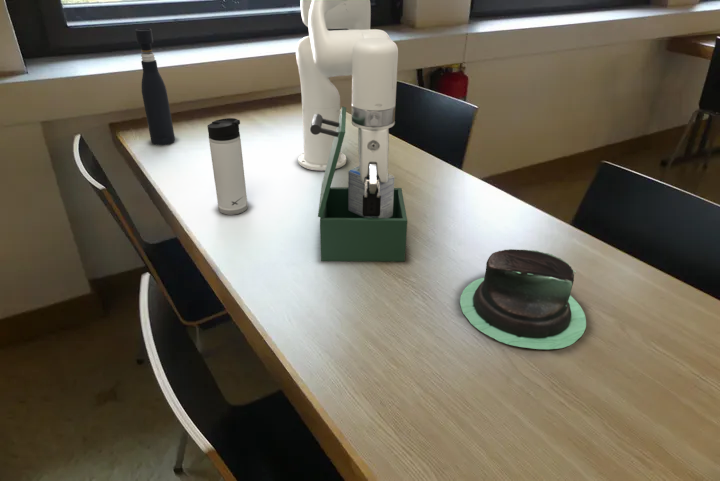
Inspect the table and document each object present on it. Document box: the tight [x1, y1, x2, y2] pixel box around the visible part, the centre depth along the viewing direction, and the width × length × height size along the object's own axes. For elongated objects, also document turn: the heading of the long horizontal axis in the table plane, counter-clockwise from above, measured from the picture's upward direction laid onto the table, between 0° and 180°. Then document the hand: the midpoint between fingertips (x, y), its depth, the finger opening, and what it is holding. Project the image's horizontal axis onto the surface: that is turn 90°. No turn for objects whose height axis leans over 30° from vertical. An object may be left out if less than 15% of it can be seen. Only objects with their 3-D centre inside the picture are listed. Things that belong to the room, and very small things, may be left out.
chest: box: [319, 186, 408, 263], centre depth 103 cm, size 16×14×9 cm
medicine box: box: [347, 165, 395, 218], centre depth 100 cm, size 8×4×9 cm, turn 47°
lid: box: [310, 106, 347, 218], centre depth 96 cm, size 16×14×6 cm
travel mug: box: [206, 117, 249, 216], centre depth 112 cm, size 6×7×20 cm
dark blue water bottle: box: [134, 27, 176, 146], centre depth 144 cm, size 6×6×30 cm
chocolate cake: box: [459, 248, 587, 350], centre depth 86 cm, size 15×19×20 cm
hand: (370, 203), depth 101 cm, fingers closed on medicine box, 8 cm apart
